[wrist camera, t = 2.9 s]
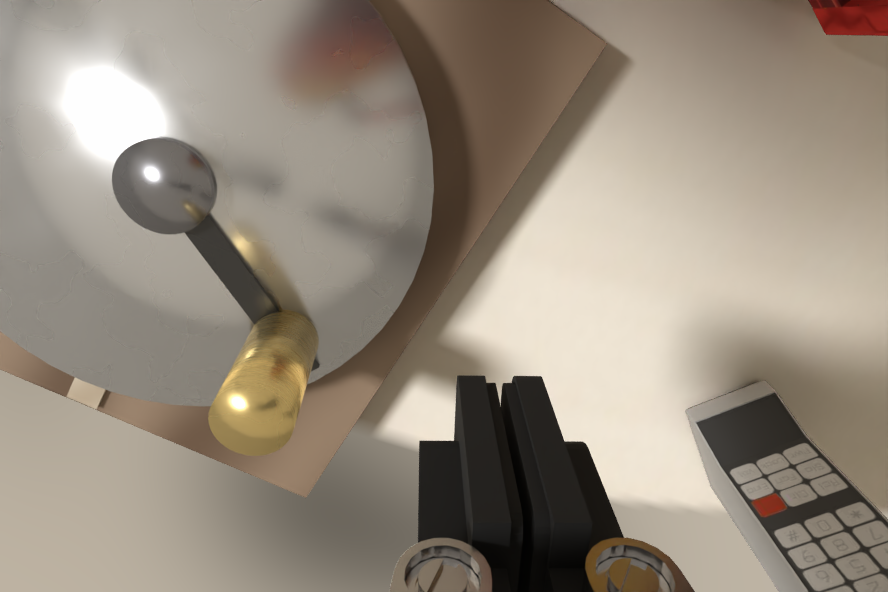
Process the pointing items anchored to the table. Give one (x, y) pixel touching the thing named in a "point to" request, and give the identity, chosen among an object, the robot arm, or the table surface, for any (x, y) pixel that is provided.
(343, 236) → the dial
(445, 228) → the base board
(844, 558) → the vintage mobile phone
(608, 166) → the table surface
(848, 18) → the mug
